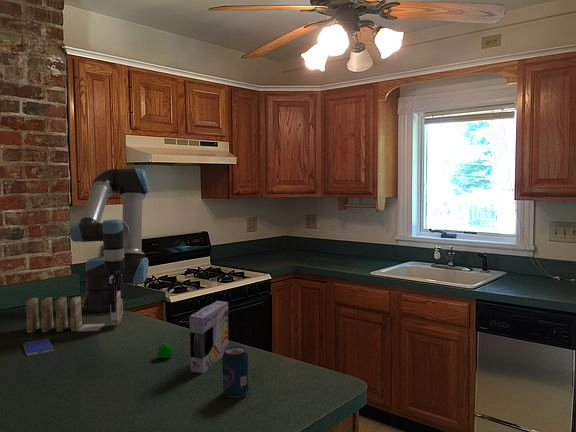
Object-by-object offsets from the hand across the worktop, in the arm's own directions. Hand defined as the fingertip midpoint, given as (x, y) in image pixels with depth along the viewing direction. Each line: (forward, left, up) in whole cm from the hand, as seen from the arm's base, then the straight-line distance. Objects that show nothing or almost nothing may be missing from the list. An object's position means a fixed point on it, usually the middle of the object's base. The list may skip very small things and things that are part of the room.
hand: (117, 317), depth 197 cm
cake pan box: (-40, +42, -4) cm, 58 cm away
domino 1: (+32, 0, -4) cm, 32 cm away
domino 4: (+15, 0, -4) cm, 16 cm away
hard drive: (+21, +22, -5) cm, 31 cm away
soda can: (-49, +65, -4) cm, 82 cm away
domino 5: (0, 0, -2) cm, 2 cm away
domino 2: (+26, 0, -4) cm, 27 cm away
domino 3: (+21, 0, -4) cm, 21 cm away
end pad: (+10, 0, -4) cm, 11 cm away
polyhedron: (-25, +36, -4) cm, 44 cm away
